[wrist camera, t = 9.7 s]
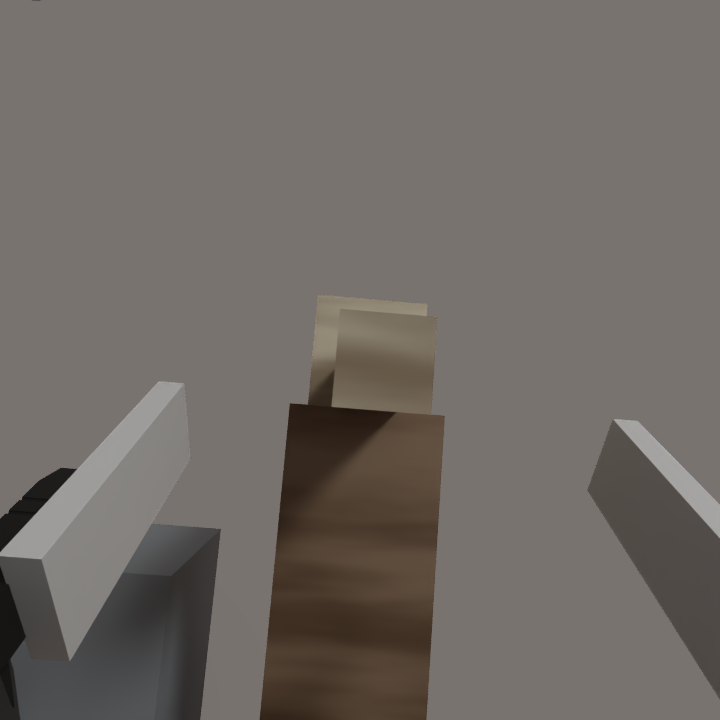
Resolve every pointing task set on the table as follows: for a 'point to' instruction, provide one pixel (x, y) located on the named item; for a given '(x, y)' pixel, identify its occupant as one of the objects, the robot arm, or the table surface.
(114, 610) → the grey pedestal
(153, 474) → the robot arm
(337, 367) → the tan wooden bar
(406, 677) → the walnut plinth
